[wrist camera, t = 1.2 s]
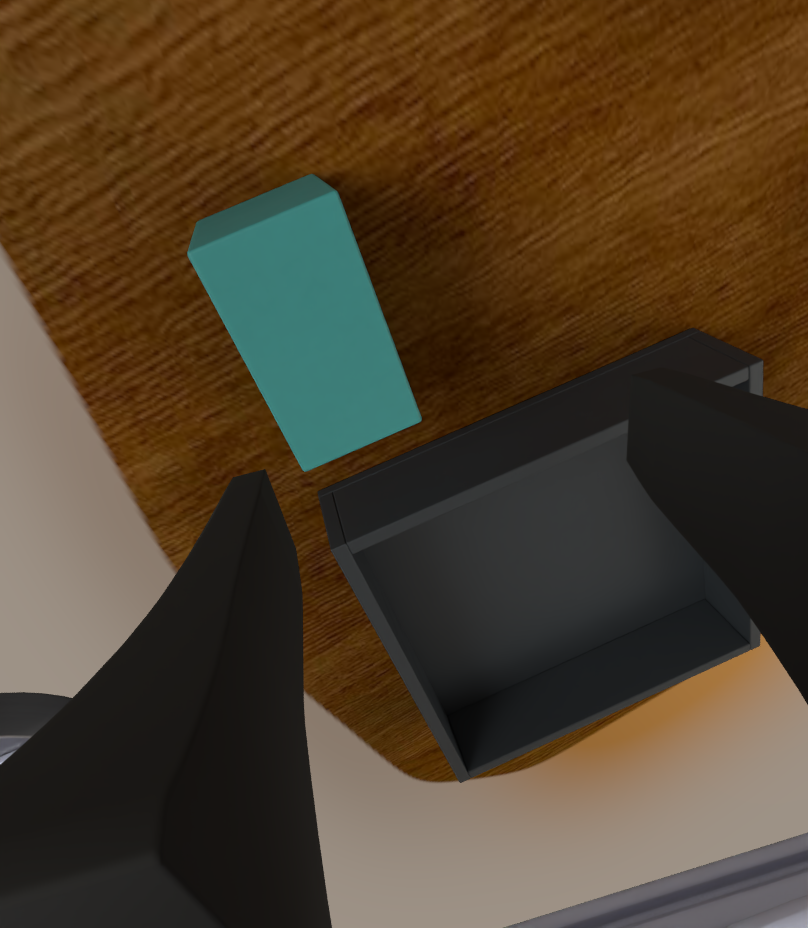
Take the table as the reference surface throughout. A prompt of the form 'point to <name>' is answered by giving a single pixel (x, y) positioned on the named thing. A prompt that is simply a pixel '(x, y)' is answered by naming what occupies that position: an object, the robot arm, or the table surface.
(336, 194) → the teal block
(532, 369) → the table surface
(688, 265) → the table surface
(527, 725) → the dark grey square tray
